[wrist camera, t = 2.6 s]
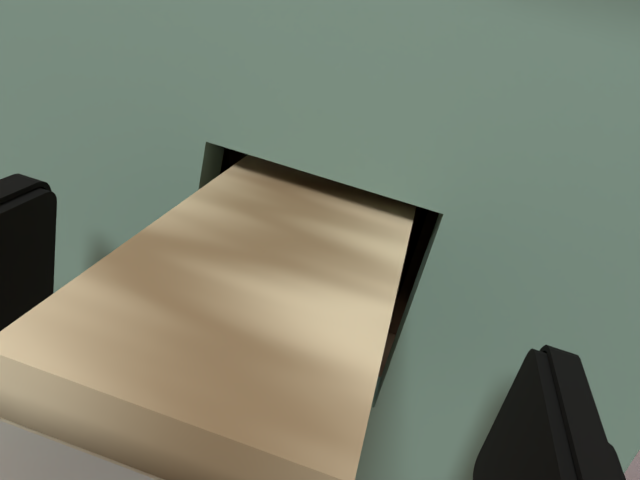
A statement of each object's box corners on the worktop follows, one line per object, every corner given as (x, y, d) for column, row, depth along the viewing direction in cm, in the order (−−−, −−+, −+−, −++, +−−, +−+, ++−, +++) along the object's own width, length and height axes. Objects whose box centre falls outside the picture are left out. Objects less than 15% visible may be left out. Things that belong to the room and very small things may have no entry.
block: (432, 133, 20) (353, 483, 5) (399, 235, 21) (271, 710, 7) (323, 101, 20) (-22, 347, 6) (298, 203, 22) (-15, 590, 8)
